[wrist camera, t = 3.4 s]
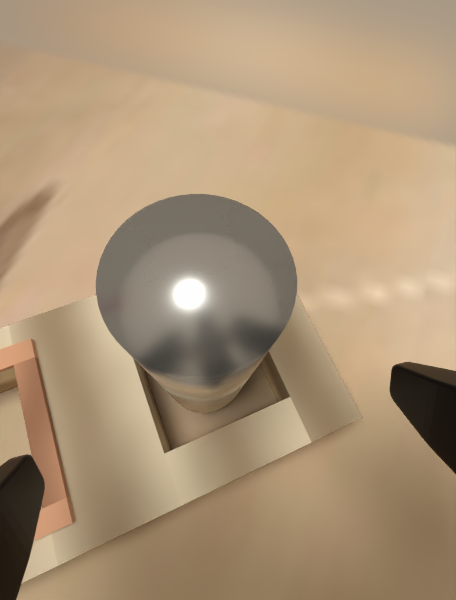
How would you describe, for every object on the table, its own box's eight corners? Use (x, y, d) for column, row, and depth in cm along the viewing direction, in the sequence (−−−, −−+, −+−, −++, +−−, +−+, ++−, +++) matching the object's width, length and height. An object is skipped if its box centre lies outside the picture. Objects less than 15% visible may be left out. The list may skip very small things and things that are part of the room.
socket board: (259, 260, 23) (267, 233, 20) (340, 419, 19) (365, 417, 16) (-142, 403, 18) (-213, 397, 15) (-131, 646, 15) (-221, 702, 12)
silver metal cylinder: (257, 359, 20) (329, 250, 8) (217, 429, 19) (231, 421, 7) (194, 319, 21) (173, 166, 9) (149, 383, 19) (51, 302, 7)
